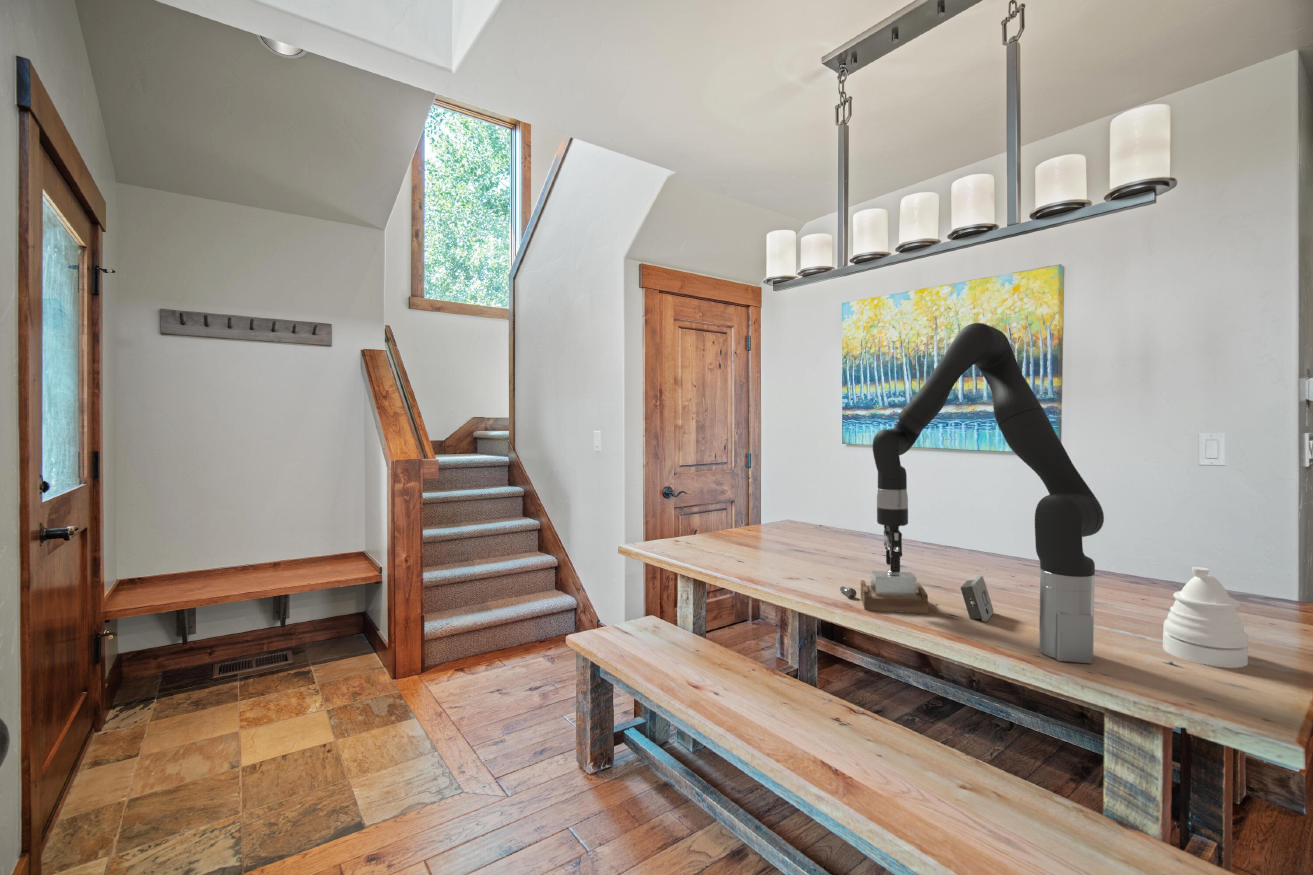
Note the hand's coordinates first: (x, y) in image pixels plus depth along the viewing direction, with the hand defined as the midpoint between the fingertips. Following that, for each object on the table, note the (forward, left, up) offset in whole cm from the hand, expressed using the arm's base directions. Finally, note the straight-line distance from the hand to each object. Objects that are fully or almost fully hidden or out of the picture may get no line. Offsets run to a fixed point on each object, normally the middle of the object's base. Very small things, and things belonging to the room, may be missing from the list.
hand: (892, 568), depth 157 cm
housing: (0, 0, -7) cm, 7 cm away
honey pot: (-21, -57, -10) cm, 61 cm away
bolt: (+6, +11, -10) cm, 16 cm away
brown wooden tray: (0, 0, -10) cm, 10 cm away
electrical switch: (-5, -19, -10) cm, 22 cm away
